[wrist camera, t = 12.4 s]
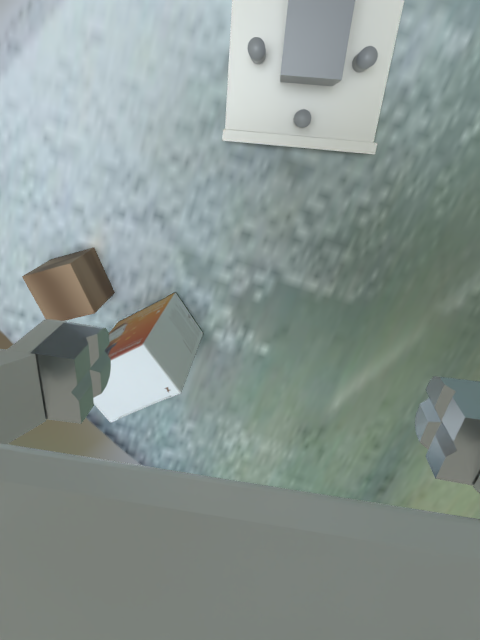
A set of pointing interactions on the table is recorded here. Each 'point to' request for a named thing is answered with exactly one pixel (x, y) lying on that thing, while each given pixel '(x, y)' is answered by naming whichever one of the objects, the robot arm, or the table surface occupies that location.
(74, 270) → the walnut block
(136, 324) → the small box
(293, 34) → the block
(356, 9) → the peg board
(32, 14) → the table surface
